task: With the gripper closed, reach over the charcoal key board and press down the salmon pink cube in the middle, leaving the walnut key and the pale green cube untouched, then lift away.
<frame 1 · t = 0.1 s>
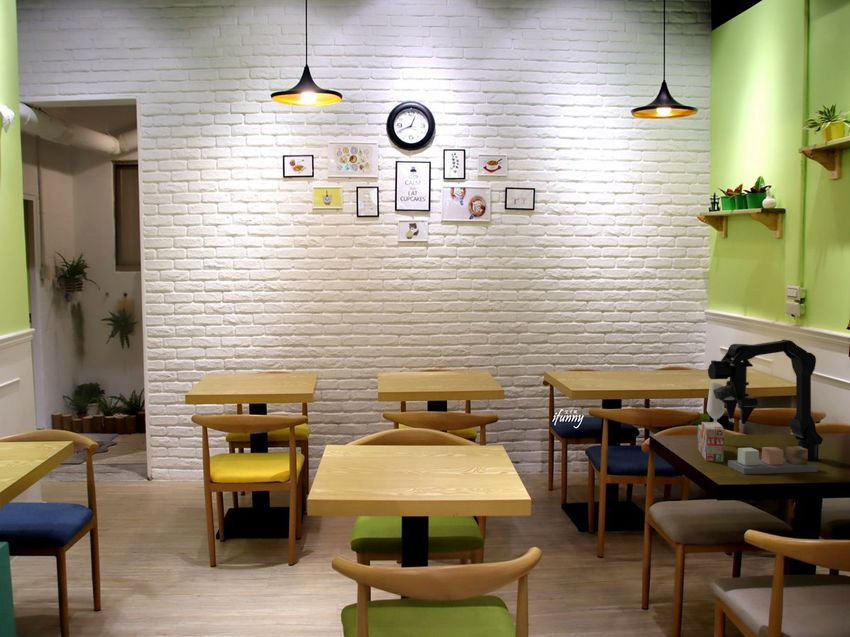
hand: (736, 421, 285), 15 cm above the table, fingers open, 9 cm apart
key board: (772, 468, 275), on the table
champagne flute: (714, 443, 314), on the table
pale green cube: (748, 456, 273), point 5 cm above the table, slide at 0.0 cm
stack of blocks: (709, 455, 295), on the table
salmon pink cube: (772, 455, 274), point 5 cm above the table, slide at 0.0 cm
walnut key: (796, 455, 275), point 5 cm above the table, slide at 0.0 cm
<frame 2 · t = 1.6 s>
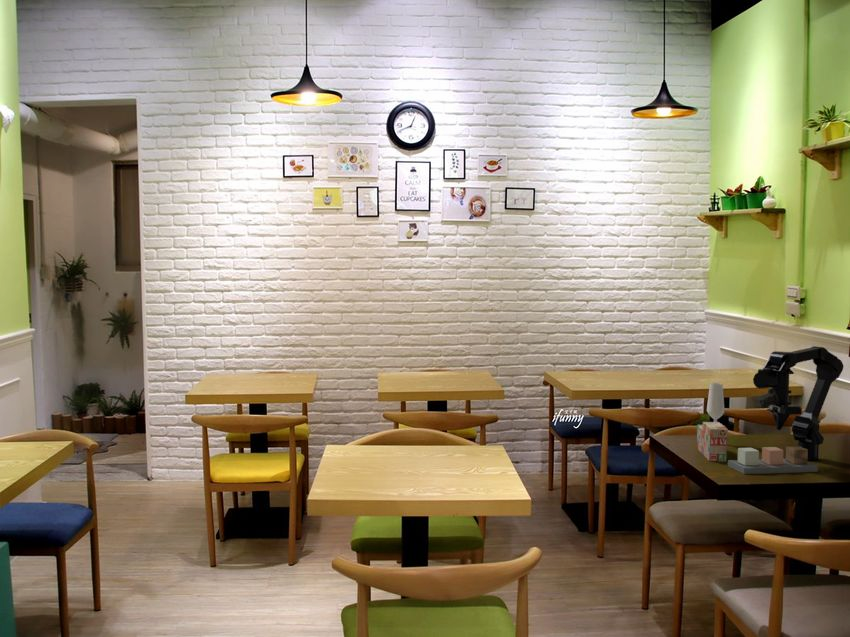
hand: (778, 429, 282), 12 cm above the table, fingers closed
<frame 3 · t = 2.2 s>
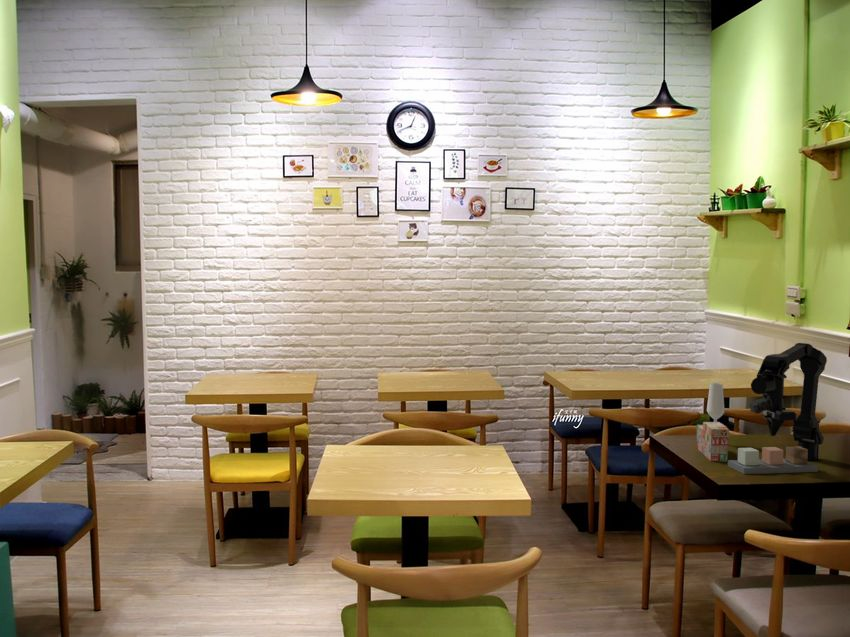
hand: (773, 435, 274), 12 cm above the table, fingers closed
nothing on the table moved.
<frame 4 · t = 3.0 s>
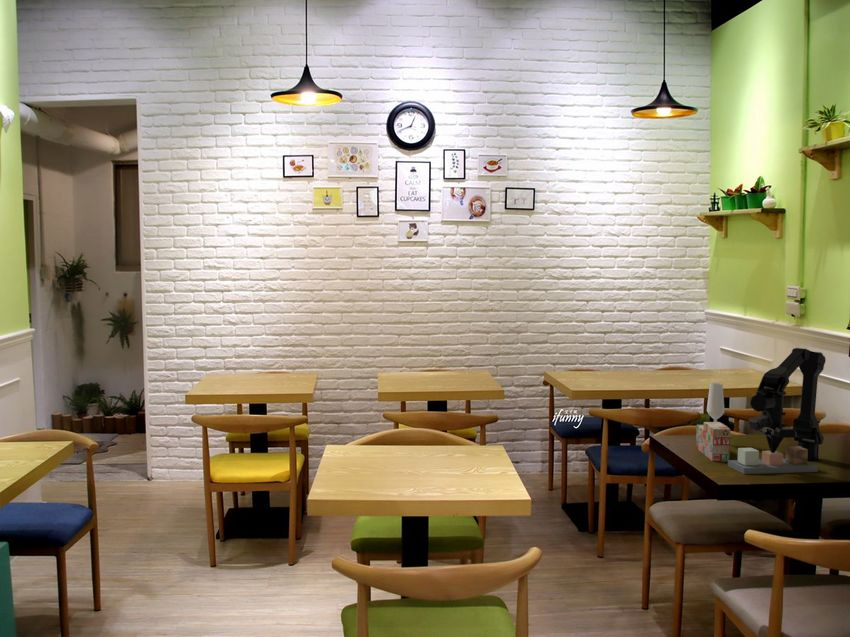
hand: (772, 452, 274), 6 cm above the table, fingers closed, pressing on salmon pink cube
salmon pink cube: (772, 459, 274), point 3 cm above the table, slide at 1.3 cm, touching gripper
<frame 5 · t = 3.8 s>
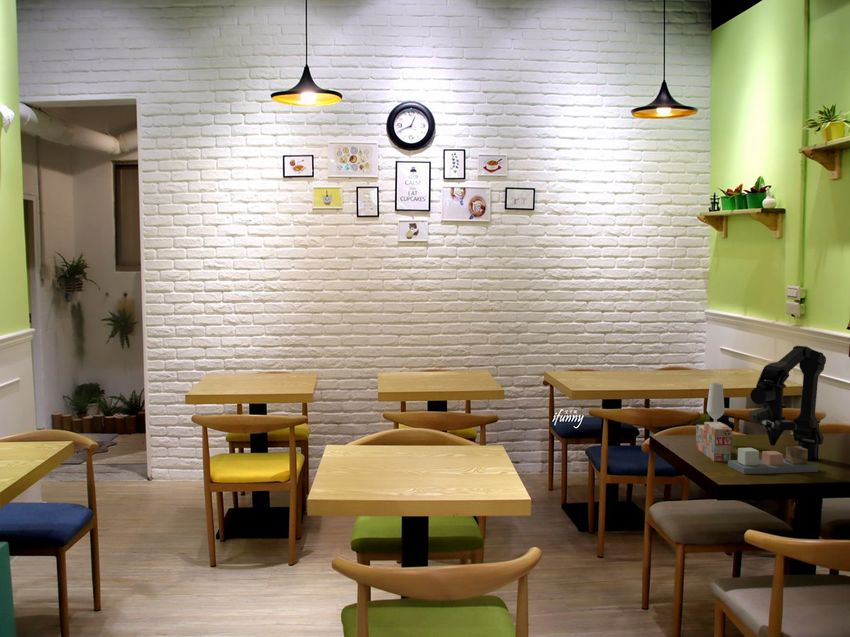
hand: (772, 445, 274), 8 cm above the table, fingers closed
salmon pink cube: (772, 459, 274), point 3 cm above the table, slide at 1.4 cm
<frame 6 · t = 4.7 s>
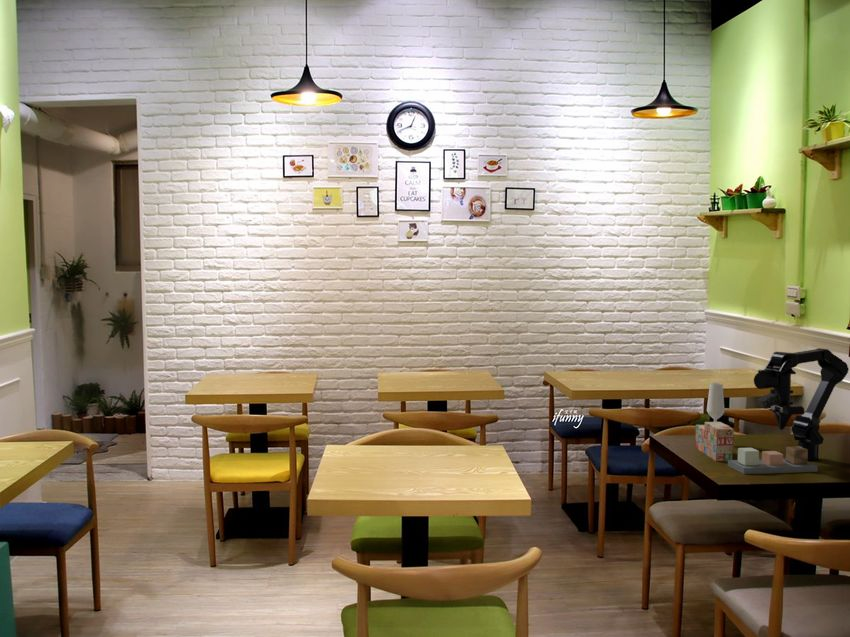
hand: (781, 429, 284), 12 cm above the table, fingers closed
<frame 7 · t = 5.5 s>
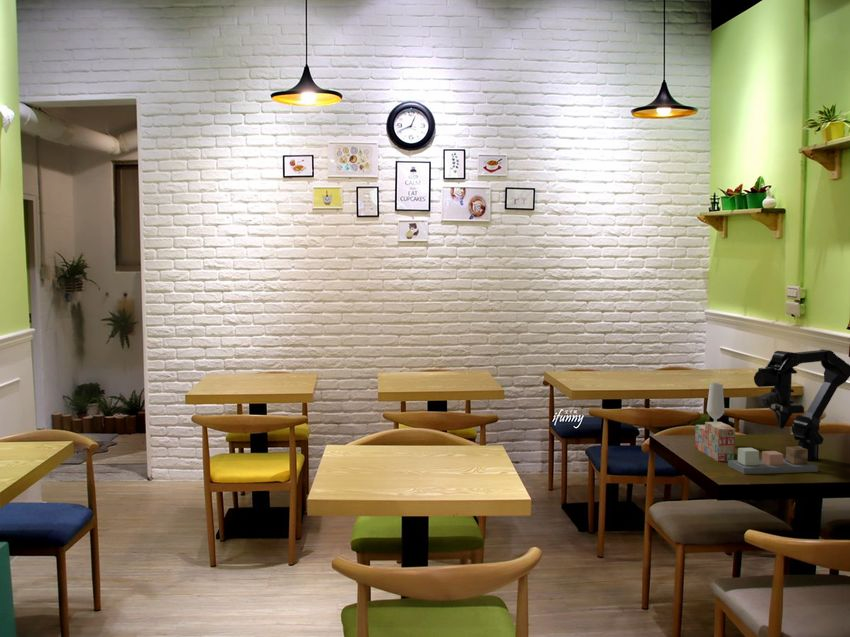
hand: (781, 428, 285), 12 cm above the table, fingers closed
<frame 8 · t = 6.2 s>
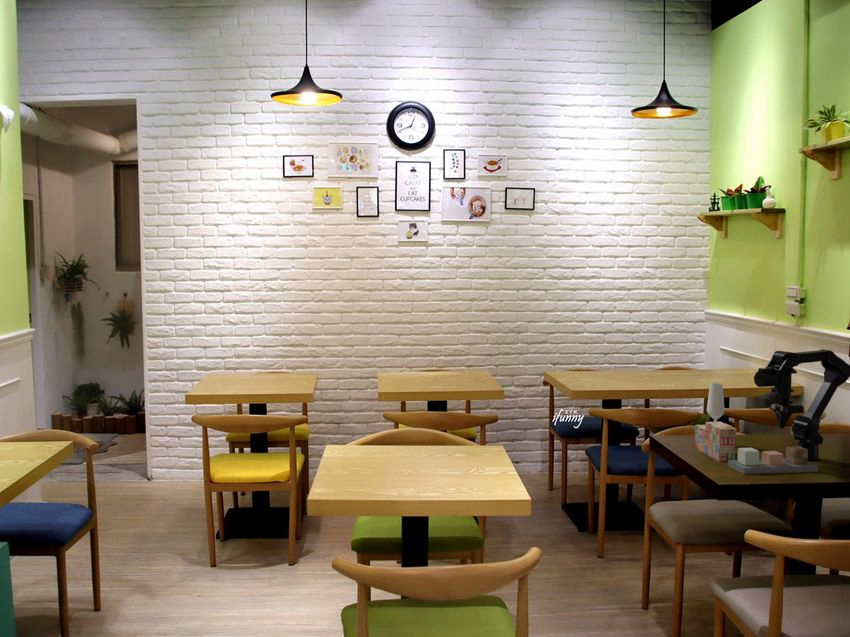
hand: (781, 428, 285), 12 cm above the table, fingers closed
at the end: salmon pink cube slide at 1.4 cm; walnut key slide at 0.0 cm; pale green cube slide at 0.0 cm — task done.
